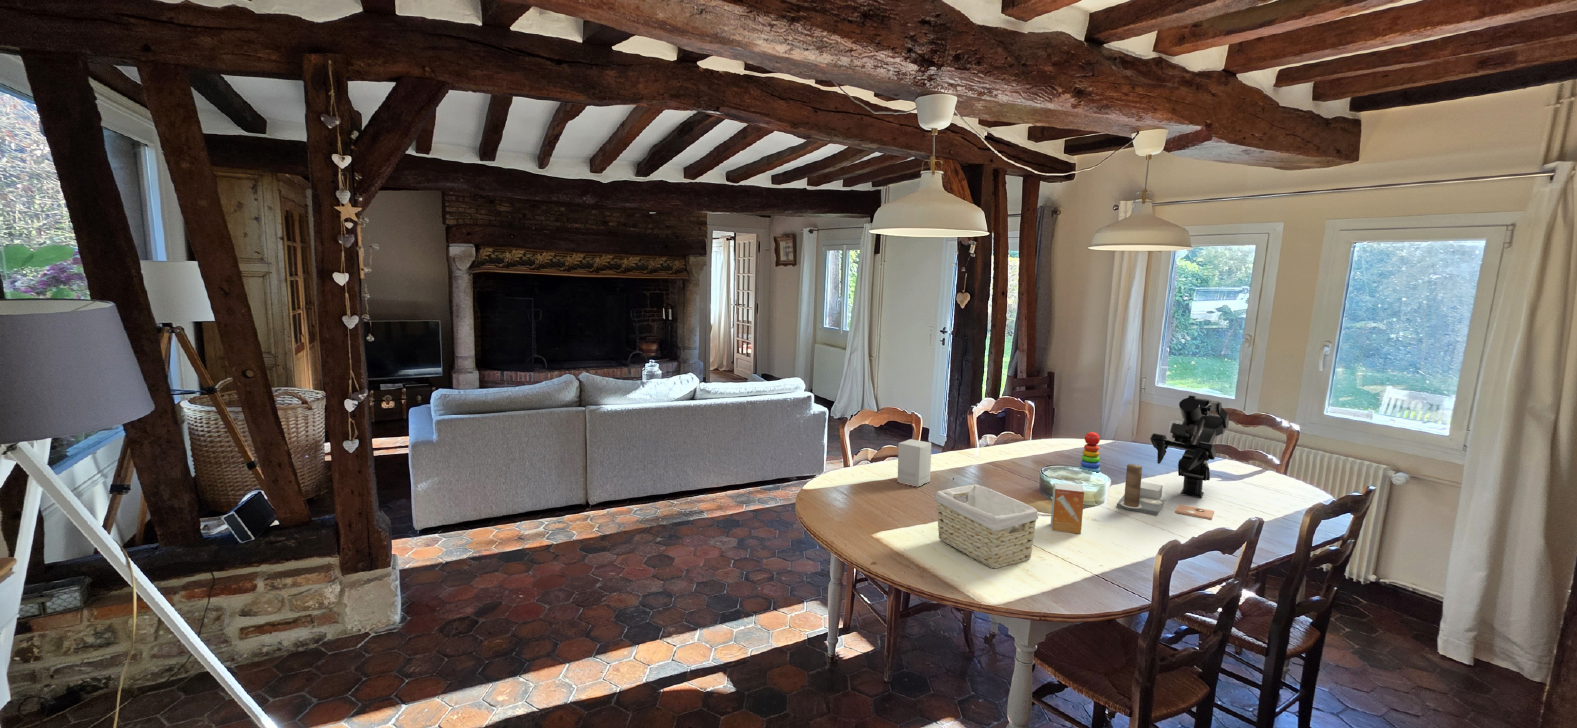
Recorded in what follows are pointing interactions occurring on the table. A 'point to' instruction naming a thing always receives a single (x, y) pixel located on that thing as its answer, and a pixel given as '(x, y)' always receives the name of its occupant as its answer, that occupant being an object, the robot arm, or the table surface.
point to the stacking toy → (1091, 453)
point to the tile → (1195, 511)
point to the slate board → (1144, 505)
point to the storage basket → (986, 525)
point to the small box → (1067, 508)
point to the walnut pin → (1133, 485)
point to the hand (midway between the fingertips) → (1173, 466)
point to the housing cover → (1151, 490)
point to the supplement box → (914, 462)
